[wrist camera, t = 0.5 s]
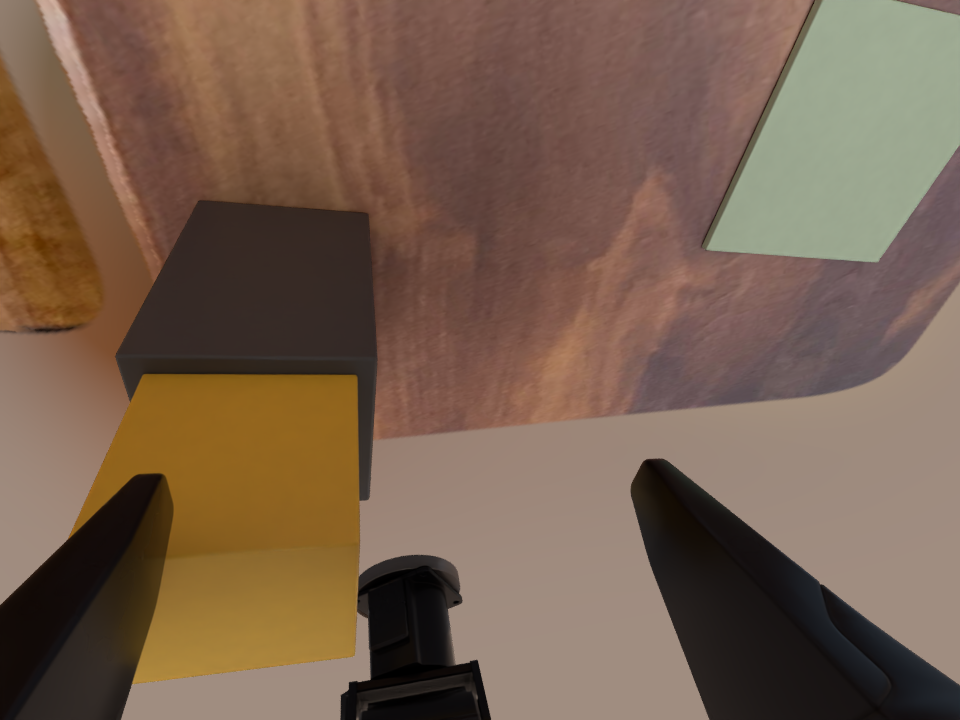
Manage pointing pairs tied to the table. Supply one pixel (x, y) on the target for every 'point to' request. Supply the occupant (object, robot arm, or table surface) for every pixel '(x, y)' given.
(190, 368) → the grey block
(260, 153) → the table surface
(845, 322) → the table surface
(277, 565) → the yellow block
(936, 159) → the mat
